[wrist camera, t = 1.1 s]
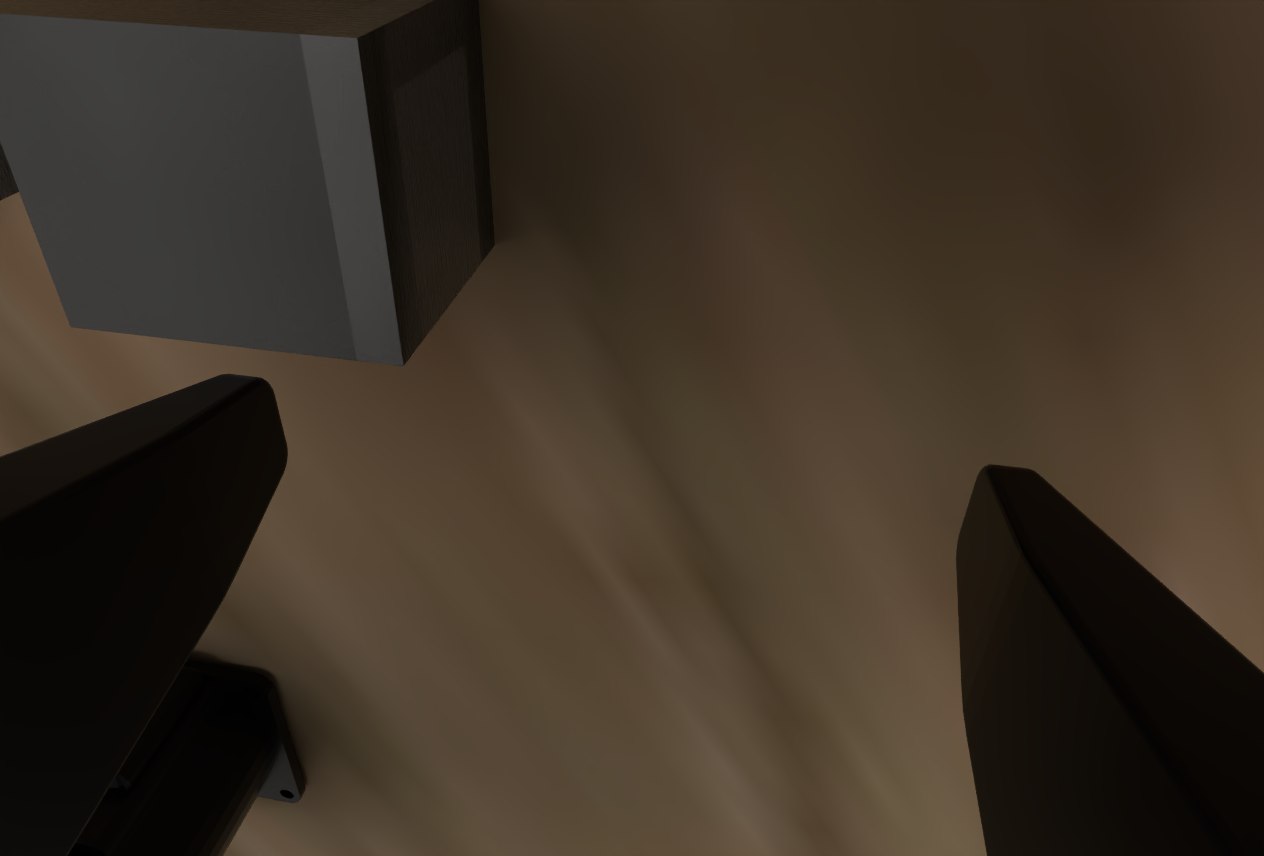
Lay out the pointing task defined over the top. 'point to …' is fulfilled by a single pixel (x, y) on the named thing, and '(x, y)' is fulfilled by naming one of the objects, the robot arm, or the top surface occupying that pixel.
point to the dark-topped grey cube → (252, 166)
